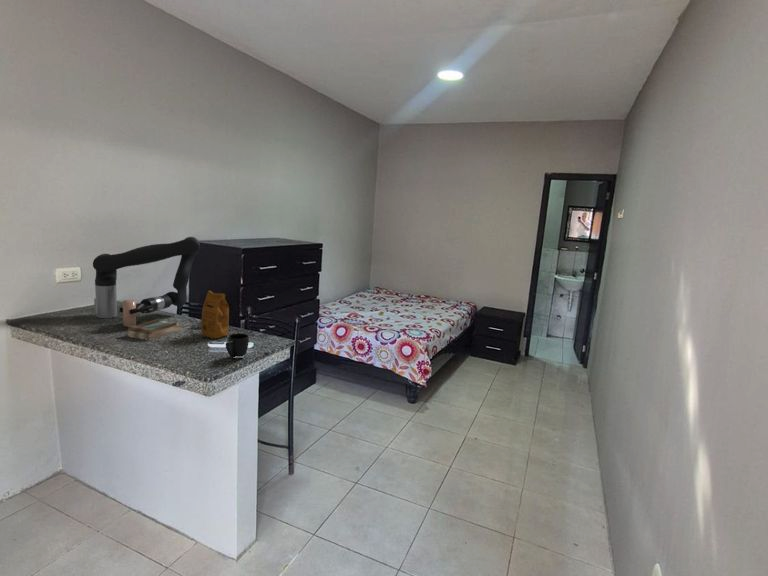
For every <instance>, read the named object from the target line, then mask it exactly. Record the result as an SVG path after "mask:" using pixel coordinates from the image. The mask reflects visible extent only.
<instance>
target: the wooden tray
mask: <svg viewBox="0 0 768 576" xmlns="http://www.w3.org/2000/svg"><path fill="white" fill-rule="evenodd" d="M181 330H182V324H181V323H178V322H176V321H174V322H171V321H166V320H160V319H159V318H157V319H154V320H150V321H145V322H143V323H140V324H136V325H135V326H131V325H130V326H127V330H126V331H127V337H128V336H129V337H128V338H133V337H135V338H134V339H138V338H140V339H139V340H143V339H145V341H148V340H150V341H153V340H156V339H158V337H159V338H162V337H164V336H167V335H170V334H173V333H176V332H179V331H181ZM161 336H162V337H161ZM155 338H156V339H155ZM152 339H153V340H152Z"/></svg>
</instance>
